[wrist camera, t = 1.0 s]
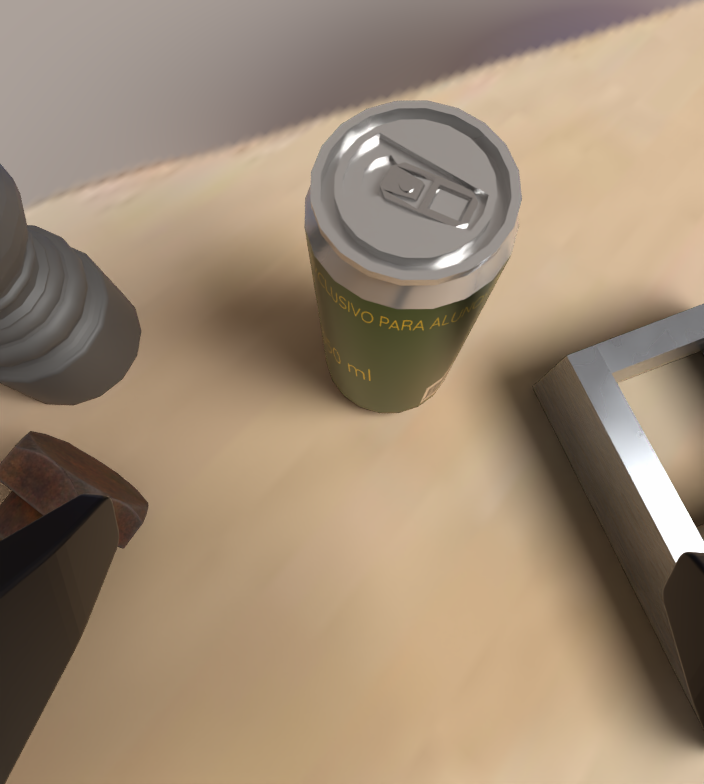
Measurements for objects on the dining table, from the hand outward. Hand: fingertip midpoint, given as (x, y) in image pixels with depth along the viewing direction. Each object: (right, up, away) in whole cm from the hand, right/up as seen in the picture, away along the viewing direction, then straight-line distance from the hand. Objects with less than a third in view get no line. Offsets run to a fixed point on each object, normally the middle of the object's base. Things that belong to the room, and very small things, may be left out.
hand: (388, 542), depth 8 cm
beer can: (+1, +4, +16) cm, 16 cm away
